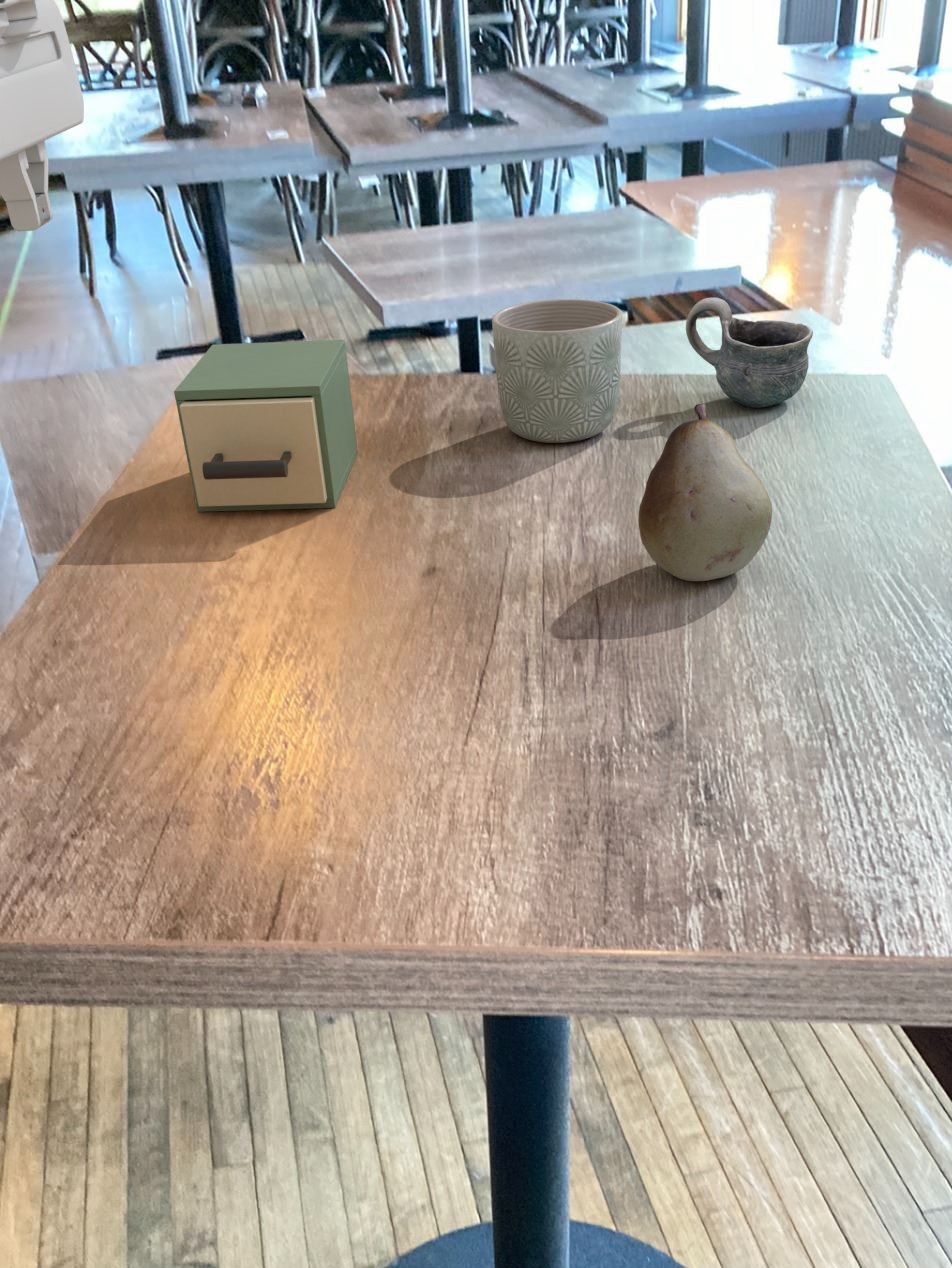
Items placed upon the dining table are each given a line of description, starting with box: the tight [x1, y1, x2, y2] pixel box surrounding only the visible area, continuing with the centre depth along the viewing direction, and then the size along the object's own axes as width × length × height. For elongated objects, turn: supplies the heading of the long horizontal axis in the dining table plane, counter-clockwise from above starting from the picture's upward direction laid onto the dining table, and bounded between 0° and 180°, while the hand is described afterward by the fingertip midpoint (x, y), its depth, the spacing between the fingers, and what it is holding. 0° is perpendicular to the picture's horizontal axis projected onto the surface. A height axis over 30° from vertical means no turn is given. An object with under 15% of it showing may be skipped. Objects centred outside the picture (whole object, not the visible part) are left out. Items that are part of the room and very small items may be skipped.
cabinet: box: [173, 339, 359, 513], centre depth 121 cm, size 15×13×11 cm
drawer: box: [180, 396, 327, 507], centre depth 118 cm, size 18×11×9 cm, turn 177°
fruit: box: [637, 403, 773, 582], centre depth 100 cm, size 10×9×12 cm
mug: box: [685, 297, 814, 408], centre depth 133 cm, size 10×12×10 cm
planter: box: [491, 298, 623, 444], centre depth 129 cm, size 12×12×11 cm
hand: (34, 226), depth 86 cm, fingers closed
